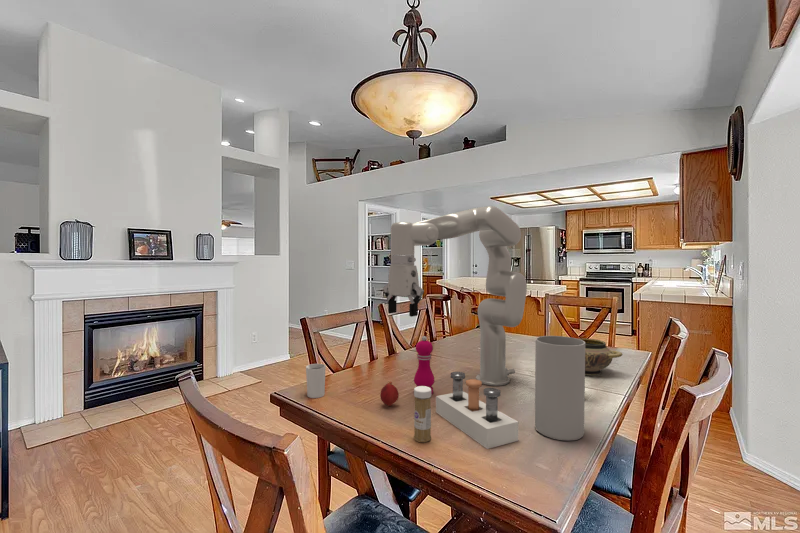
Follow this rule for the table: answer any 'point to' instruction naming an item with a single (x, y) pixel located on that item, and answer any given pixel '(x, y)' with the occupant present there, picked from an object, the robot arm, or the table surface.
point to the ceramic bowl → (597, 356)
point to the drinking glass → (315, 380)
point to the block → (477, 421)
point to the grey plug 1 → (457, 385)
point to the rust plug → (473, 394)
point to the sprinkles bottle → (422, 414)
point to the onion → (389, 394)
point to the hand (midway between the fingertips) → (402, 314)
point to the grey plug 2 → (491, 404)
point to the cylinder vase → (560, 387)
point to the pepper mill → (424, 364)
